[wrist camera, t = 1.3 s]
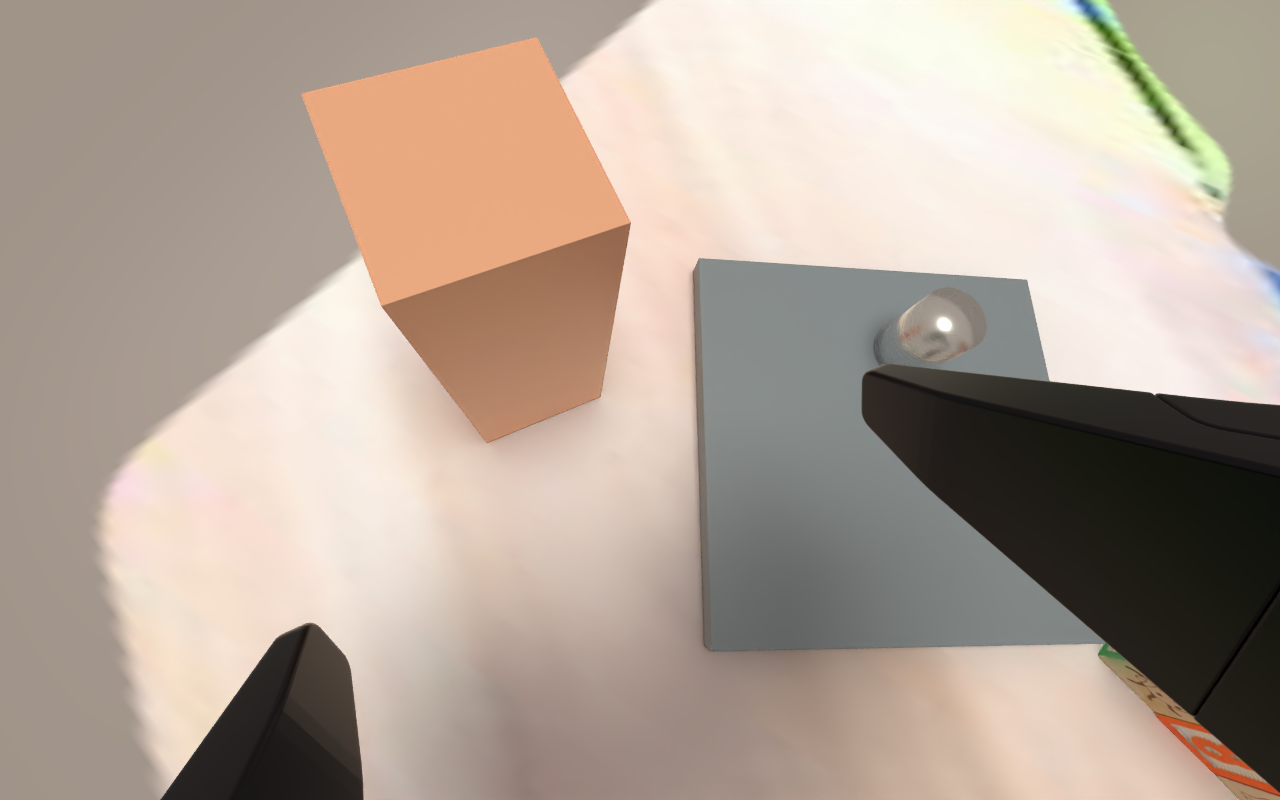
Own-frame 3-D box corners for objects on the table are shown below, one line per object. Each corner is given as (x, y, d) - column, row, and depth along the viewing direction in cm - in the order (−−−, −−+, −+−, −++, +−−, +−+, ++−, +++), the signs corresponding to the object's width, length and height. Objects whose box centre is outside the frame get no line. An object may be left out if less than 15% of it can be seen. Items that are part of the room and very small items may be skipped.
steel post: (915, 388, 25) (992, 351, 20) (862, 386, 24) (928, 348, 20) (908, 336, 25) (980, 289, 21) (856, 333, 25) (917, 285, 21)
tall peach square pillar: (600, 396, 23) (630, 222, 11) (486, 443, 22) (381, 306, 10) (554, 297, 24) (536, 36, 12) (444, 336, 23) (301, 93, 11)
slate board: (1079, 638, 22) (1107, 643, 21) (704, 645, 20) (711, 651, 19) (1007, 291, 27) (1026, 279, 26) (693, 271, 25) (698, 258, 24)
